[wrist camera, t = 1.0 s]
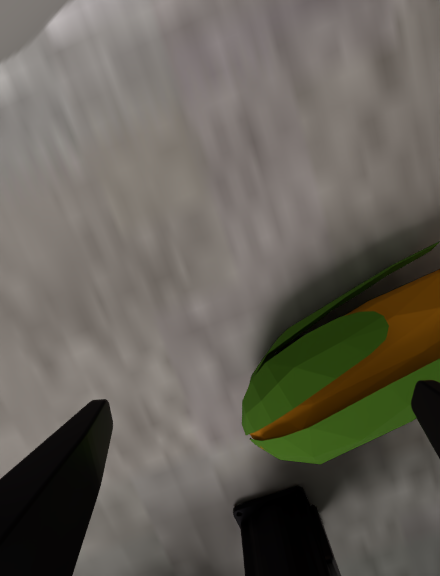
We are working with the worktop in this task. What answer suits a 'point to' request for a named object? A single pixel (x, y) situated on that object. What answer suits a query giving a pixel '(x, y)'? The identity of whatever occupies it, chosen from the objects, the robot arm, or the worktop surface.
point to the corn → (346, 372)
